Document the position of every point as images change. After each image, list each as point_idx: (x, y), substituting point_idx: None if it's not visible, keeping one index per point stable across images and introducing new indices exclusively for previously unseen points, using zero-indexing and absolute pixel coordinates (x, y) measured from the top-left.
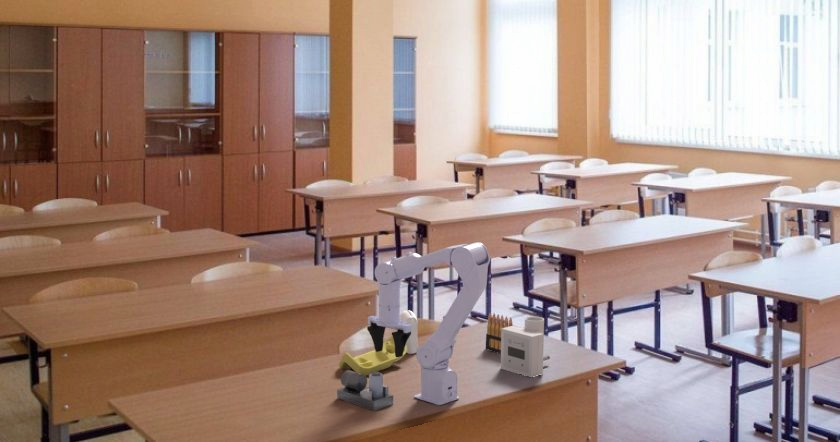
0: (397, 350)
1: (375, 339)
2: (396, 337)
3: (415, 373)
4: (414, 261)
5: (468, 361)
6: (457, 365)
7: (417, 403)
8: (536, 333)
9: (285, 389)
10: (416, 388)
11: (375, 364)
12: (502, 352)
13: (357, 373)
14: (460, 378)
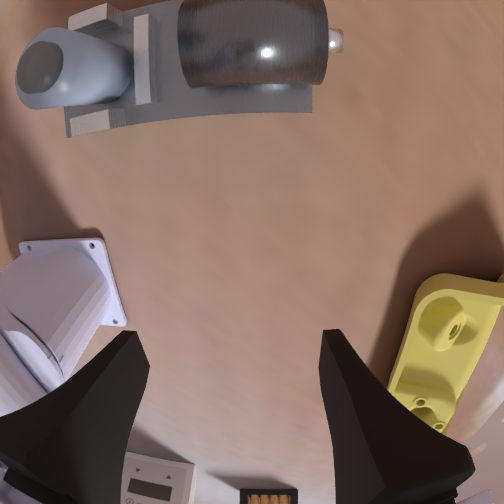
0: (93, 360)
1: (350, 402)
2: (12, 423)
3: (303, 389)
4: None
5: (271, 465)
6: (268, 451)
7: (59, 209)
8: None
9: (493, 4)
10: (183, 311)
11: (412, 340)
12: (186, 490)
13: (220, 31)
14: (187, 416)
